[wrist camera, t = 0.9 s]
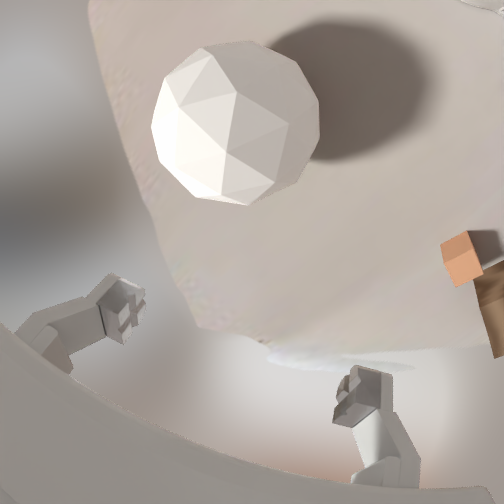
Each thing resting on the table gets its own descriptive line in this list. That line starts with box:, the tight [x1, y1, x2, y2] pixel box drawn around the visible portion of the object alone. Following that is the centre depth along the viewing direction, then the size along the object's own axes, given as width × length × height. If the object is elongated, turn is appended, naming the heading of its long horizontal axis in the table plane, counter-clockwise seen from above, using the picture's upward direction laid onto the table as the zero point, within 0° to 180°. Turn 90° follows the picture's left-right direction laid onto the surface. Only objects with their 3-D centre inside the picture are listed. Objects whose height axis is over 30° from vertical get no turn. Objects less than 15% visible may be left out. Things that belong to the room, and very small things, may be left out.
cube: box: [440, 231, 483, 287], centre depth 37 cm, size 5×5×5 cm
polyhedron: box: [151, 41, 320, 205], centre depth 33 cm, size 19×20×20 cm
